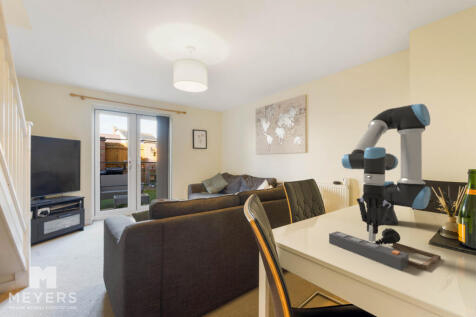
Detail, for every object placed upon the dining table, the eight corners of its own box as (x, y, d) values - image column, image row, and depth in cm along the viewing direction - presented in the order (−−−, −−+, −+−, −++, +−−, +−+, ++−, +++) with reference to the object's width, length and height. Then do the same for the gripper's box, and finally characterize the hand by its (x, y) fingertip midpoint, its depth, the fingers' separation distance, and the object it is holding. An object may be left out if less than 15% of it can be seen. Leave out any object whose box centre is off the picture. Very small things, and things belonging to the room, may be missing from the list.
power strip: (337, 240, 92) (337, 230, 92) (408, 266, 70) (408, 252, 70) (329, 242, 89) (329, 232, 89) (400, 270, 67) (400, 256, 67)
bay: (394, 245, 86) (394, 242, 86) (440, 260, 74) (440, 255, 74) (376, 253, 79) (376, 249, 79) (424, 271, 67) (424, 266, 67)
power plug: (366, 239, 86) (397, 229, 82) (362, 233, 93) (391, 224, 89) (373, 252, 85) (405, 243, 81) (368, 245, 92) (398, 237, 88)
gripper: (353, 182, 90) (351, 236, 90) (386, 186, 79) (384, 248, 79) (363, 182, 94) (361, 234, 93) (396, 185, 83) (394, 244, 82)
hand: (372, 240), depth 86 cm, fingers closed
